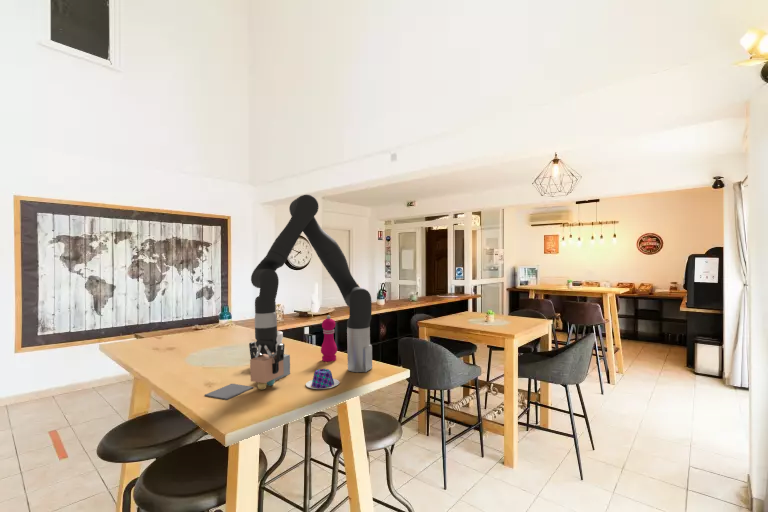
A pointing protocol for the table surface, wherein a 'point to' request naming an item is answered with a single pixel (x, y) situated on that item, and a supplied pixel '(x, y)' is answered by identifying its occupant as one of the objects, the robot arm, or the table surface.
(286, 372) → the plate
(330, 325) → the pepper mill
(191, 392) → the table surface
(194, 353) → the table surface
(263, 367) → the cover terracotta
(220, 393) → the mat
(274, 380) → the marble
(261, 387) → the marble
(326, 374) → the pudding
